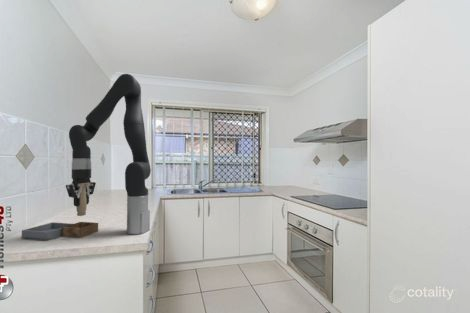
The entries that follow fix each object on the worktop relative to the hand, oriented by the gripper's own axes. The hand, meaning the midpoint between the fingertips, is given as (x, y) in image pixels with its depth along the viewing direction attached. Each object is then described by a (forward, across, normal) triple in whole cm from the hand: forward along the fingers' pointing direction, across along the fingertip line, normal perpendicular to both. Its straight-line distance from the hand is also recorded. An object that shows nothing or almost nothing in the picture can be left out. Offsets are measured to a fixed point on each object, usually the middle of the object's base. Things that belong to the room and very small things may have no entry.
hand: (81, 205), depth 100 cm
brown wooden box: (+13, 0, 0) cm, 13 cm away
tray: (+13, -4, +13) cm, 19 cm away
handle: (+5, 0, 0) cm, 5 cm away
